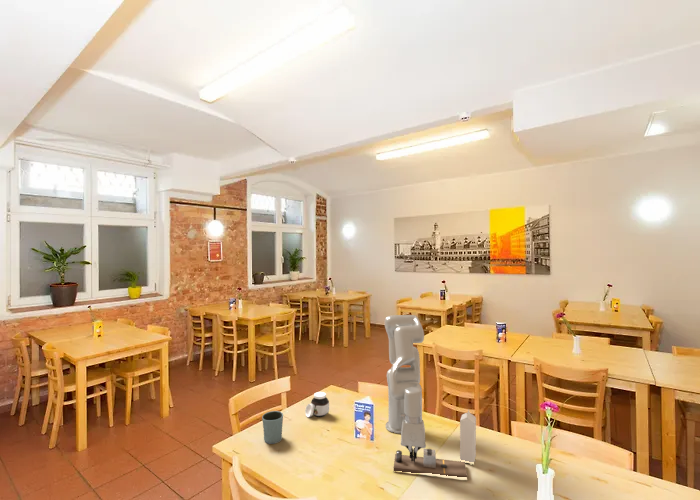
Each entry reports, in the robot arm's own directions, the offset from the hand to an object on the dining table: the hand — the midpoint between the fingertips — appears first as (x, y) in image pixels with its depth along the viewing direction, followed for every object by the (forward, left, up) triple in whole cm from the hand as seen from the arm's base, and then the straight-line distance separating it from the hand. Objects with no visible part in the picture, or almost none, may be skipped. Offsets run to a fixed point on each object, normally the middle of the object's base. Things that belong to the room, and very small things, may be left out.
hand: (413, 459), depth 155 cm
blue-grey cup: (-9, -69, -4) cm, 70 cm away
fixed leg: (0, -6, -1) cm, 6 cm away
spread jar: (-38, -55, -4) cm, 67 cm away
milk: (-10, +24, -4) cm, 26 cm away
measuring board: (0, +7, -3) cm, 8 cm away
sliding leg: (0, +7, -1) cm, 7 cm away
